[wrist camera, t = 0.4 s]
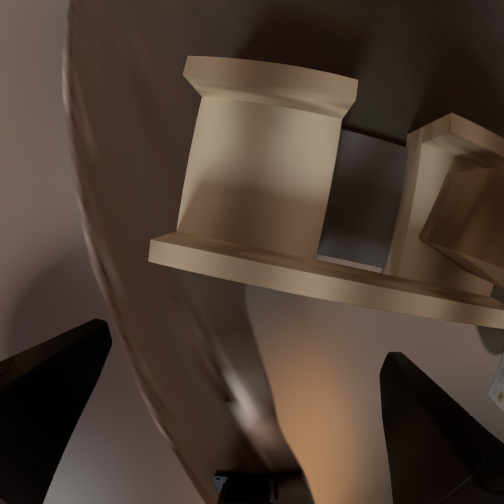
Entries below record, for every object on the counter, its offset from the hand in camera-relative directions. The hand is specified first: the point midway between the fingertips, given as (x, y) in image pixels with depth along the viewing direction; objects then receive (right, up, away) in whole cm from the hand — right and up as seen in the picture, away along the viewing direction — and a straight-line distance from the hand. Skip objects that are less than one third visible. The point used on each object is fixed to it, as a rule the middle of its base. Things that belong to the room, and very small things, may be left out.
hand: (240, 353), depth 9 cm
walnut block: (+14, +5, +8) cm, 17 cm away
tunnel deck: (+8, +7, +12) cm, 16 cm away
